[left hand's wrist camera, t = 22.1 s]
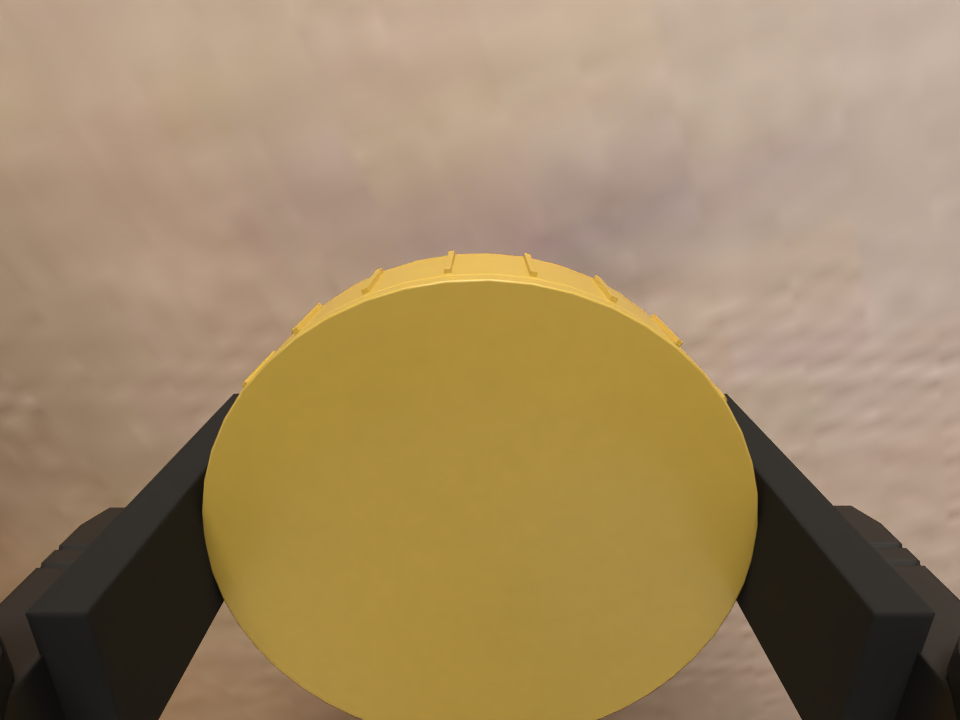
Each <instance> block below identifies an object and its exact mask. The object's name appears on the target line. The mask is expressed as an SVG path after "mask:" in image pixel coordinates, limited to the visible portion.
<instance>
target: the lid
mask: <svg viewBox="0 0 960 720" xmlns="http://www.w3.org/2000/svg"><path fill="white" fill-rule="evenodd" d="M292 332H293V334H292V335H291V336H290V337H289V338H288V339H287V340H286V341H285V342H284V343H283V344H282V345H281V346H280V348H279V349H278V350H277V351H276V352H274V351H273V352H272V353H271V354H270V355H269V356H268V357H267V358H266V359H265V360H264V361H263V362H262V363H261V364H260V366H259V367H258V368H257V369H256V370H255V371H254V372H253V373H252V374H251V375H250V376H249V377H248V378H247V379H246V380H245V381H244V383H243V384H242V386H243V387H244V388H243V389H242V391H241V392H240V394H239V396H238V397H237V399H236V401H235V402H234V404H233V405H232V407H231V409H230V410H229V412H228V413H227V415H226V417H225V418H224V421H223V423H222V425H221V428H220V430H219V433H218V435H217V437H216V440H215V442H214V445H213V447H212V450H211V454H210V458H209V462H208V467H207V471H206V475H205V479H204V491H203V506H202V517H203V528H204V536H205V542H206V547H207V551H208V556H209V561H210V565H211V569H212V573H213V575H214V578H215V580H216V582H217V585H218V587H219V590H220V592H221V594H222V597H223V599H224V601H225V603H226V604H227V606H228V608H229V609H230V611H231V613H232V614H233V616H234V618H235V620H236V621H237V623H238V625H239V626H240V627H241V628H242V630H243V631H244V632H245V634H246V635H247V636H248V637H249V639H250V640H251V641H252V642H253V644H254V645H255V646H256V648H257V649H258V650H259V651H260V652H261V653H262V654H263V655H264V656H265V657H266V658H267V659H268V660H269V661H270V662H271V663H272V664H273V665H274V666H276V667H277V668H278V669H279V670H280V671H281V672H283V673H284V674H285V675H286V676H288V677H289V678H290V679H291V680H293V681H294V682H295V683H297V684H298V685H299V686H300V687H302V688H303V689H305V690H307V691H308V692H310V693H311V694H313V695H315V696H316V697H318V698H319V699H321V700H323V701H324V702H326V703H328V704H330V705H332V706H334V707H336V708H338V709H340V710H342V711H344V712H346V713H348V714H350V715H353V716H355V717H357V718H360V719H363V720H598V719H600V718H603V717H605V716H607V715H610V714H612V713H614V712H617V711H619V710H621V709H623V708H625V707H627V706H629V705H630V704H632V703H634V702H636V701H638V700H639V699H641V698H643V697H645V696H647V695H648V694H650V693H651V692H653V691H654V690H655V689H657V688H658V687H660V686H661V685H662V684H664V683H665V682H667V681H668V680H669V679H671V678H672V677H673V676H675V675H676V674H677V673H678V672H679V671H680V670H681V669H682V668H684V667H685V666H686V665H687V664H688V663H689V662H690V661H691V660H692V659H694V658H695V657H696V655H697V654H698V653H699V652H700V651H701V650H702V649H703V647H704V646H705V645H706V644H707V643H708V642H709V641H710V640H711V638H712V637H713V636H714V635H715V633H716V632H717V630H718V629H719V627H720V626H721V624H722V623H723V622H724V620H725V619H726V617H727V616H728V614H729V613H730V611H731V609H732V607H733V605H734V603H735V601H736V599H737V597H738V595H739V593H740V591H741V589H742V587H743V585H744V582H745V579H746V576H747V573H748V569H749V566H750V563H751V559H752V554H753V549H754V544H755V539H756V533H757V527H758V493H757V487H756V481H755V475H754V469H753V463H752V460H751V457H750V454H749V451H748V448H747V445H746V442H745V439H744V436H743V433H742V431H741V429H740V427H739V425H738V423H737V421H736V419H735V417H734V415H733V414H732V412H731V410H730V408H729V406H728V404H727V402H726V401H727V399H726V397H725V395H724V394H723V393H722V392H721V391H720V390H719V389H718V388H717V387H716V386H715V385H714V384H713V383H712V382H711V381H710V379H709V378H708V377H707V375H706V374H705V373H704V372H703V371H702V370H701V369H700V368H699V367H698V366H697V364H696V363H695V362H694V361H693V360H692V359H691V358H690V357H689V356H688V355H687V354H686V353H685V352H684V351H683V350H682V348H681V347H680V345H682V344H683V342H682V341H681V340H680V339H679V338H678V337H677V336H676V335H675V334H674V333H673V332H672V331H671V330H670V329H669V328H668V327H667V326H666V325H665V324H664V323H663V322H662V321H661V320H660V319H659V318H658V317H657V316H656V315H655V314H653V315H652V316H651V317H650V316H649V315H648V314H647V313H646V312H645V311H644V310H642V309H641V308H639V307H638V306H637V305H635V304H634V303H633V302H631V301H630V300H629V299H627V298H626V297H625V296H623V295H622V294H620V293H619V292H617V291H615V290H614V289H612V288H610V287H608V286H607V285H606V284H605V282H604V281H603V280H602V279H601V278H600V277H599V276H597V275H595V276H594V278H591V277H589V276H587V275H584V274H581V273H579V272H576V271H573V270H571V269H568V268H565V267H563V266H560V265H557V264H553V263H549V262H544V261H540V260H536V259H532V258H531V255H530V254H527V253H524V257H522V256H511V255H501V254H490V253H482V254H455V251H449V252H448V255H447V256H441V257H435V258H429V259H424V260H418V261H414V262H411V263H408V264H405V265H402V266H398V267H395V268H392V269H389V270H385V271H383V270H382V268H380V269H377V270H376V271H375V272H374V274H373V275H372V276H371V277H370V278H368V279H366V280H364V281H361V282H359V283H357V284H355V285H353V286H352V287H350V288H348V289H347V290H345V291H344V292H342V293H341V294H339V295H338V296H336V297H335V298H333V299H331V300H330V301H328V302H327V303H325V304H324V305H323V306H322V305H321V304H320V303H318V304H317V305H316V306H315V307H314V308H313V309H312V310H311V311H310V312H309V313H308V314H307V315H306V316H305V317H304V318H303V319H302V320H301V321H300V322H299V323H298V324H297V325H296V326H295V327H294V328H293V329H292Z"/></svg>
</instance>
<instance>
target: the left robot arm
mask: <svg viewBox="0 0 960 720" xmlns="http://www.w3.org/2000/svg"><path fill="white" fill-rule="evenodd" d="M724 395H725V397H726V399H727V401H726V402H727V404H728V406H729V408H730V410H731V412H732V414H733V415H734V417H735V419H736V421H737V423H738V425H739V427H740V429H741V431H742V433H743V436H744V439H745V442H746V445H747V448H748V451H749V454H750V457H751V460H752V463H753V469H754V475H755V481H756V487H757V493H758V527H757V533H756V539H755V544H754V549H753V554H752V559H751V563H750V566H749V569H748V573H747V576H746V579H745V582H744V585H743V587H742V589H741V591H740V593H739V595H738V597H737V599H736V601H737V602H738V604H739V606H740V608H741V610H742V611H743V613H744V615H745V617H746V619H747V621H748V622H749V624H750V626H751V628H752V630H753V631H754V633H755V635H756V637H757V639H758V641H759V642H760V644H761V646H762V648H763V650H764V651H765V653H766V655H767V657H768V659H769V660H770V662H771V664H772V666H773V668H774V670H775V671H776V673H777V675H778V677H779V679H780V680H781V682H782V684H783V686H784V688H785V690H786V691H787V693H788V695H789V697H790V699H791V700H792V702H793V704H794V706H795V708H796V710H797V711H798V713H799V715H800V717H801V719H802V720H960V600H959V599H958V598H957V597H956V596H955V595H954V594H953V593H952V592H951V591H950V590H949V589H948V588H947V587H946V586H945V585H944V584H943V583H942V582H941V581H940V580H939V579H937V578H936V577H935V576H934V575H933V574H932V573H931V572H930V571H929V570H928V569H927V568H926V567H925V566H921V565H920V561H919V560H918V559H917V558H916V557H915V556H914V555H913V554H912V553H911V552H910V551H909V550H908V549H907V548H902V544H901V543H900V542H899V541H898V540H897V539H896V538H895V537H894V536H893V535H892V534H891V533H890V532H889V531H888V530H887V529H886V528H885V527H884V526H883V525H882V524H881V523H879V522H877V521H876V520H874V519H872V518H871V517H869V516H867V515H866V514H864V513H862V512H861V511H859V510H857V509H856V508H854V507H852V506H833V505H832V504H831V503H830V502H829V501H828V500H827V499H826V498H825V497H824V496H823V495H822V494H821V492H820V491H819V490H818V489H817V488H816V487H815V486H814V485H813V484H812V483H811V482H810V481H809V480H808V479H807V478H806V477H805V476H804V475H803V474H802V473H801V471H800V470H799V469H798V468H797V467H796V466H795V465H794V464H793V463H792V462H791V461H790V460H789V459H788V458H787V457H786V456H785V455H784V454H783V453H782V452H781V450H780V449H779V448H778V447H777V446H776V445H775V444H774V443H773V442H772V441H771V440H770V439H769V438H768V437H767V436H766V435H765V434H764V433H763V432H762V431H761V430H760V428H759V427H758V426H757V425H756V424H755V423H754V422H753V421H752V420H751V419H750V418H749V417H748V416H747V415H746V414H745V413H744V412H743V411H742V410H741V409H740V407H739V406H738V405H737V404H736V403H735V402H734V401H733V400H732V399H731V398H730V397H729V396H728V395H727V394H724ZM238 396H239V394H233V395H232V396H231V397H230V398H229V399H228V401H227V402H226V403H225V404H224V405H223V406H222V407H221V408H220V409H219V410H218V411H217V412H216V413H215V414H214V415H213V416H212V417H211V418H210V419H209V420H208V422H207V423H206V424H205V425H204V426H203V427H202V428H201V429H200V430H199V431H198V432H197V433H196V434H195V435H194V436H193V437H192V438H191V439H190V440H189V441H188V443H187V444H186V445H185V446H184V447H183V448H182V449H181V450H180V451H179V452H178V453H177V454H176V455H175V456H174V457H173V458H172V459H171V460H170V461H169V462H168V464H167V465H166V466H165V467H164V468H163V469H162V470H161V471H160V472H159V473H158V474H157V475H156V476H155V477H154V478H153V479H152V480H151V481H150V482H149V483H148V485H147V486H146V487H145V488H144V489H143V490H142V491H141V492H140V493H139V494H138V495H137V496H136V497H135V498H134V499H133V500H132V501H131V502H130V503H129V504H128V506H127V507H126V508H108V509H107V510H105V511H103V512H102V513H100V514H98V515H97V516H95V517H93V518H92V519H90V520H88V521H87V522H85V523H83V524H82V525H80V526H79V527H78V528H77V529H76V530H75V531H74V532H73V533H72V534H71V535H70V536H69V537H68V538H67V539H66V540H65V541H64V542H63V543H62V544H61V545H60V546H59V550H55V551H54V552H53V553H52V554H51V555H49V556H48V557H47V558H46V559H45V560H44V561H43V562H42V563H41V568H36V569H35V570H34V571H33V572H32V573H31V574H30V575H29V576H28V577H27V578H26V579H25V580H24V581H23V582H22V583H21V584H20V585H19V586H18V587H17V588H16V589H15V590H14V591H13V592H12V593H11V594H10V595H8V596H7V597H6V598H5V599H4V600H3V601H2V602H1V603H0V720H158V719H159V717H160V716H161V714H162V712H163V710H164V708H165V707H166V705H167V703H168V701H169V699H170V698H171V696H172V694H173V692H174V690H175V688H176V687H177V685H178V683H179V681H180V679H181V678H182V676H183V674H184V672H185V670H186V668H187V667H188V665H189V663H190V661H191V659H192V658H193V656H194V654H195V652H196V650H197V648H198V647H199V645H200V643H201V641H202V639H203V638H204V636H205V634H206V632H207V630H208V628H209V627H210V625H211V623H212V621H213V619H214V618H215V616H216V614H217V612H218V610H219V609H220V607H221V605H222V603H223V601H224V599H223V597H222V594H221V592H220V590H219V587H218V585H217V582H216V580H215V578H214V575H213V573H212V569H211V565H210V561H209V556H208V551H207V547H206V542H205V536H204V528H203V517H202V506H203V491H204V479H205V475H206V471H207V467H208V462H209V458H210V454H211V450H212V447H213V445H214V442H215V440H216V437H217V435H218V433H219V430H220V428H221V425H222V423H223V421H224V418H225V417H226V415H227V413H228V412H229V410H230V409H231V407H232V405H233V404H234V402H235V401H236V399H237V397H238Z"/></svg>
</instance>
